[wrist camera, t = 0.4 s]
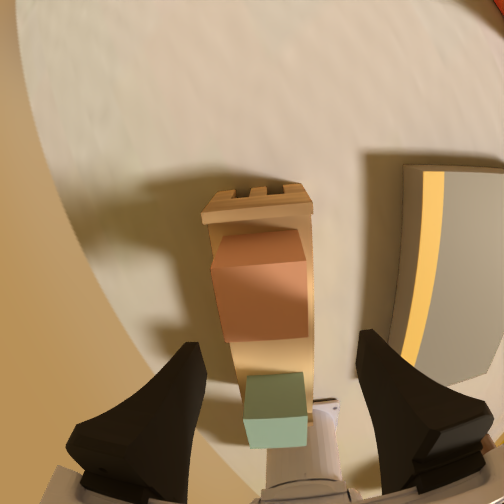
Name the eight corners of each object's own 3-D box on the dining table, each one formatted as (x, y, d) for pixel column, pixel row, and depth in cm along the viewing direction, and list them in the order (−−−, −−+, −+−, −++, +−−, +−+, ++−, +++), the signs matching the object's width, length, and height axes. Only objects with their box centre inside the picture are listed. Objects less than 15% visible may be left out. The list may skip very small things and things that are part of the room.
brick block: (301, 294, 17) (308, 337, 14) (233, 299, 18) (225, 342, 14) (297, 229, 16) (306, 260, 12) (223, 236, 16) (210, 268, 13)
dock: (474, 355, 25) (486, 373, 22) (380, 378, 26) (388, 401, 23) (515, 169, 17) (538, 177, 14) (403, 164, 18) (423, 171, 15)
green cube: (303, 405, 21) (306, 445, 18) (253, 408, 22) (250, 448, 18) (303, 372, 20) (307, 415, 16) (246, 375, 20) (242, 419, 17)
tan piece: (307, 379, 26) (313, 425, 21) (249, 383, 27) (245, 429, 22) (300, 182, 19) (312, 202, 14) (218, 190, 20) (200, 212, 15)
